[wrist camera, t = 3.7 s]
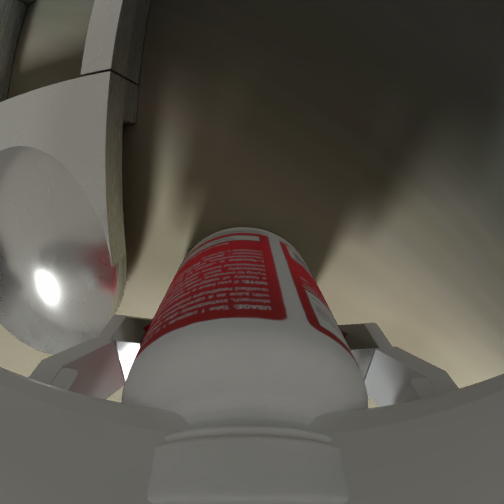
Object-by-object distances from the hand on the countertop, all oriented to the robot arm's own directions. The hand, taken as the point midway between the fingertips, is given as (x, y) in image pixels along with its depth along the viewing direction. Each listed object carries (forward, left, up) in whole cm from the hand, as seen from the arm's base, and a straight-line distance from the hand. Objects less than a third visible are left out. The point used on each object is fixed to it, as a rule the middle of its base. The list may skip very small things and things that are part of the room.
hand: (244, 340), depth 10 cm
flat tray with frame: (+10, -13, -4) cm, 17 cm away
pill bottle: (0, 0, -4) cm, 4 cm away
